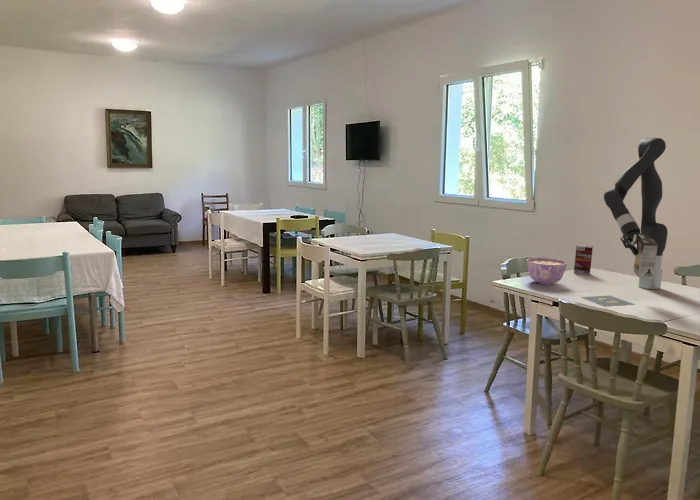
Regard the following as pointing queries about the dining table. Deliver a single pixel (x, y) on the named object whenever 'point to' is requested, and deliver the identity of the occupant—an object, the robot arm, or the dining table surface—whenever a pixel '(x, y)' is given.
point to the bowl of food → (546, 269)
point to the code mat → (607, 300)
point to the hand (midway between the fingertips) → (644, 254)
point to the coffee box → (645, 258)
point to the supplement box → (583, 259)
